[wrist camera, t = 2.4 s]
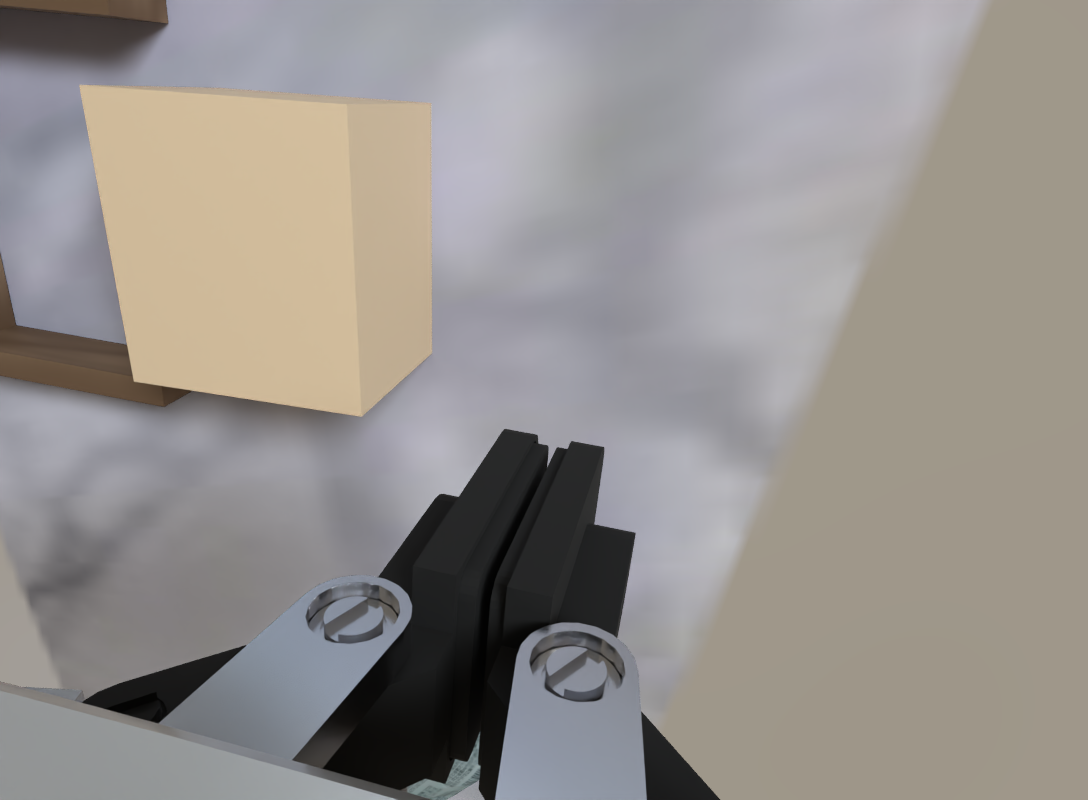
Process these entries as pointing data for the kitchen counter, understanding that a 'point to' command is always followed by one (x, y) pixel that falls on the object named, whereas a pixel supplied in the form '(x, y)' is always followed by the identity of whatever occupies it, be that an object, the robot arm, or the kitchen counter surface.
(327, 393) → the carton
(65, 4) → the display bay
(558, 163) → the kitchen counter surface
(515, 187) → the kitchen counter surface
